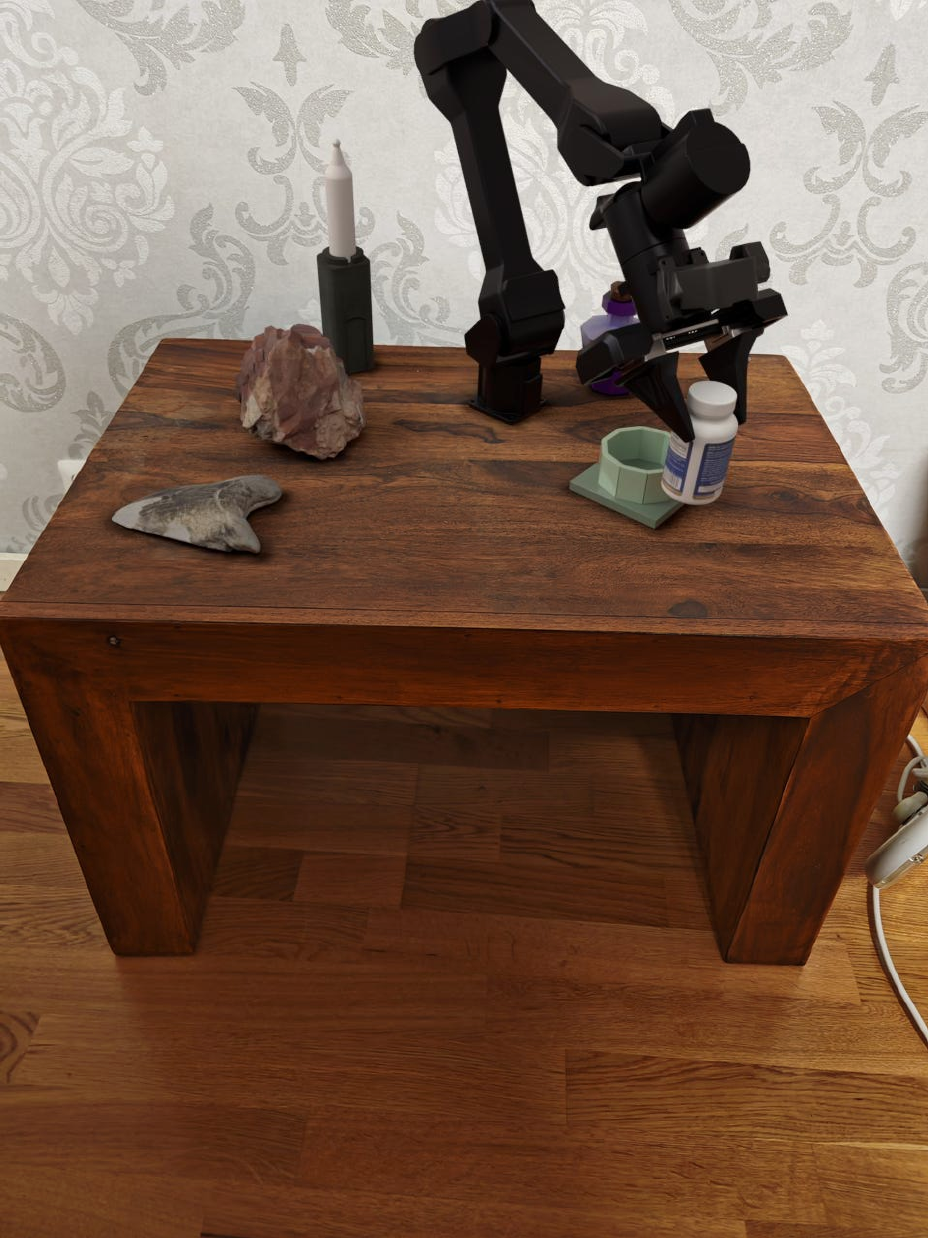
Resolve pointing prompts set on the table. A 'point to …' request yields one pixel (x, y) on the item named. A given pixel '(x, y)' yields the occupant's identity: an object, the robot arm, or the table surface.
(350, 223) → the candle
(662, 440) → the cup holder
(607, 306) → the potion bottle
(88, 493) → the table surface
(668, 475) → the pill bottle
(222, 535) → the fossil
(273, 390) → the mineral specimen
